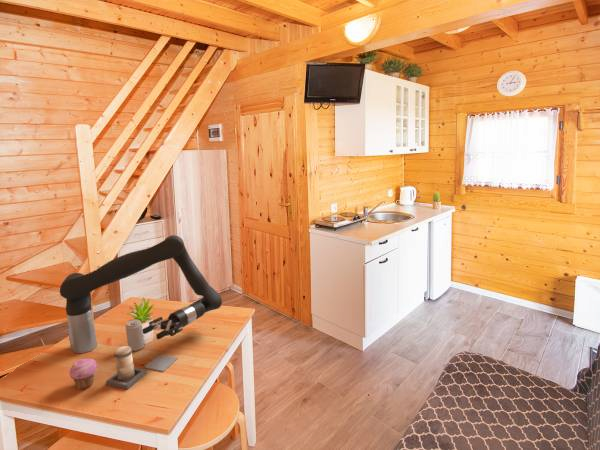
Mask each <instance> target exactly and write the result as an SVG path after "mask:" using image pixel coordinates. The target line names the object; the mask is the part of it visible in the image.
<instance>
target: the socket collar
mask: <svg viewBox="0 0 600 450" xmlns="http://www.w3.org/2000/svg"><path fill="white" fill-rule="evenodd" d="M134 372H135V377H134V378H132V379H131V380H130V381H129V382H128V383H126V382H121V381H119V380H118V373H117V372H116V373H114V374H113V375H112V376H111V377H109V378H108V379H106V381H105V383H106V385H107V386H111V387H114V388H120V389H125V390H130V389H131V388H132V387H133V386H134V385H135V384H136V383H137V382H139V381H140V380H141V379H142V378H143V377H144V376H145V375H147V369H145V368H144V369H143V368H137V367H134Z"/></svg>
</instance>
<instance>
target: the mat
mask: <svg viewBox="0 0 600 450" xmlns="http://www.w3.org/2000/svg"><path fill="white" fill-rule="evenodd" d="M177 360H178V357H174V356H168V355H162V354H158V355H157V356H156V357H155V358H153V359H152V360H151V361H149V362H148V363H147V364H146V365H145V366H143V368H144V369H145V370H152V371H158V372H162V373H164V372H165V371H166V370H167V369H169V368H170V367H171V366H172V365H173V364H174V363H175V362H176V361H177Z"/></svg>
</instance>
